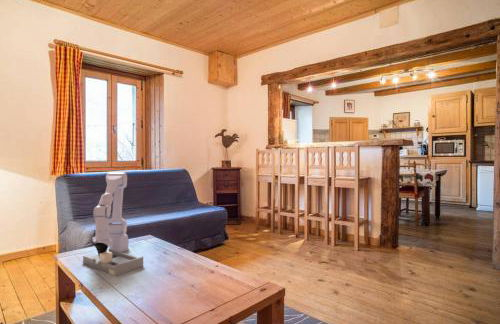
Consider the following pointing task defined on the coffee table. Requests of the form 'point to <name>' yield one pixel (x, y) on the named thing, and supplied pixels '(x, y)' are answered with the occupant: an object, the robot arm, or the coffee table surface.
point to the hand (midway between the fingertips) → (102, 257)
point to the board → (115, 263)
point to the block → (106, 257)
